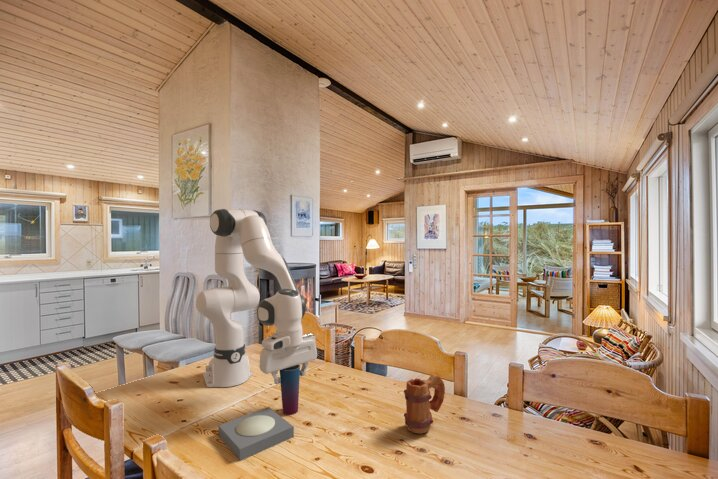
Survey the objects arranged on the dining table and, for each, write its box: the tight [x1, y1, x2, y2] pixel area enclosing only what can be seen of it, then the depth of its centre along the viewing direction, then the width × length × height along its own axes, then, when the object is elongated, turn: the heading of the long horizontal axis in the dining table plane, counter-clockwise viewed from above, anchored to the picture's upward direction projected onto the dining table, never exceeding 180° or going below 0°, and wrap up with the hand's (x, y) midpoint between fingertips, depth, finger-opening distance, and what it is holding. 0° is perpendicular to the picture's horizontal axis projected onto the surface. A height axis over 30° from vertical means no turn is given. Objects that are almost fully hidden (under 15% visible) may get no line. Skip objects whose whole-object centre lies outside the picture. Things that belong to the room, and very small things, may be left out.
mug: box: [403, 373, 446, 434], centre depth 104 cm, size 15×8×15 cm, turn 117°
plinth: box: [217, 407, 295, 461], centre depth 100 cm, size 16×16×3 cm
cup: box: [279, 364, 301, 416], centre depth 115 cm, size 7×7×15 cm
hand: (290, 379), depth 115 cm, fingers open, 8 cm apart
